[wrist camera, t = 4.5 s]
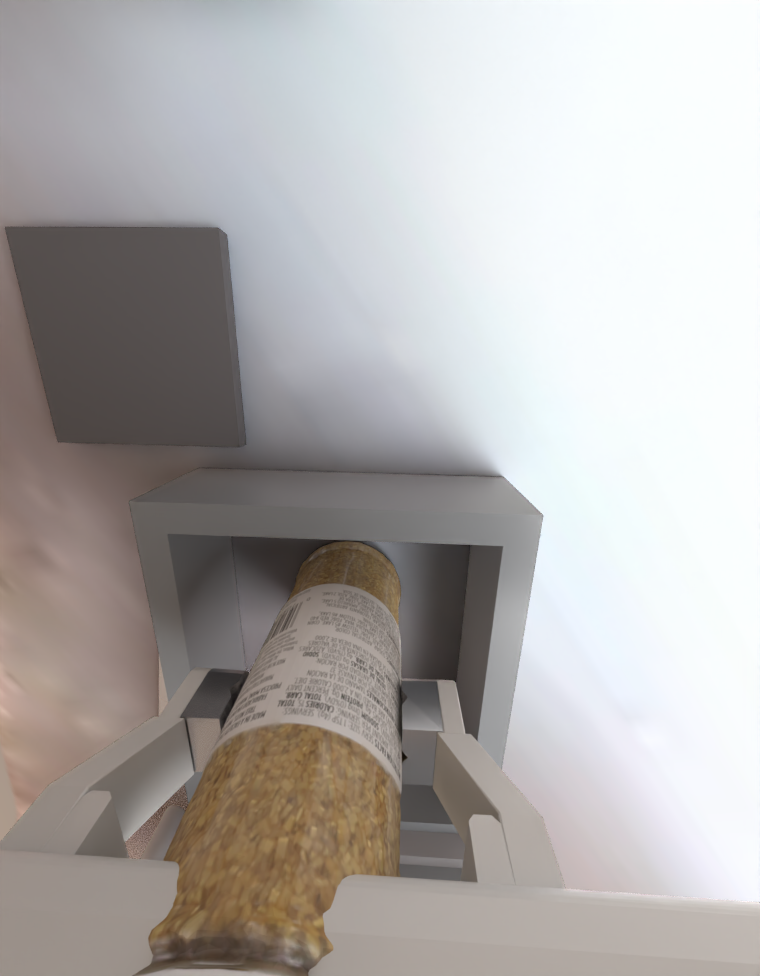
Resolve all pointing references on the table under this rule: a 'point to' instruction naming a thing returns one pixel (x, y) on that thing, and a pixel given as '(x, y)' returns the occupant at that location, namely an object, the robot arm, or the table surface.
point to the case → (357, 517)
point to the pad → (133, 333)
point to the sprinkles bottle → (294, 781)
